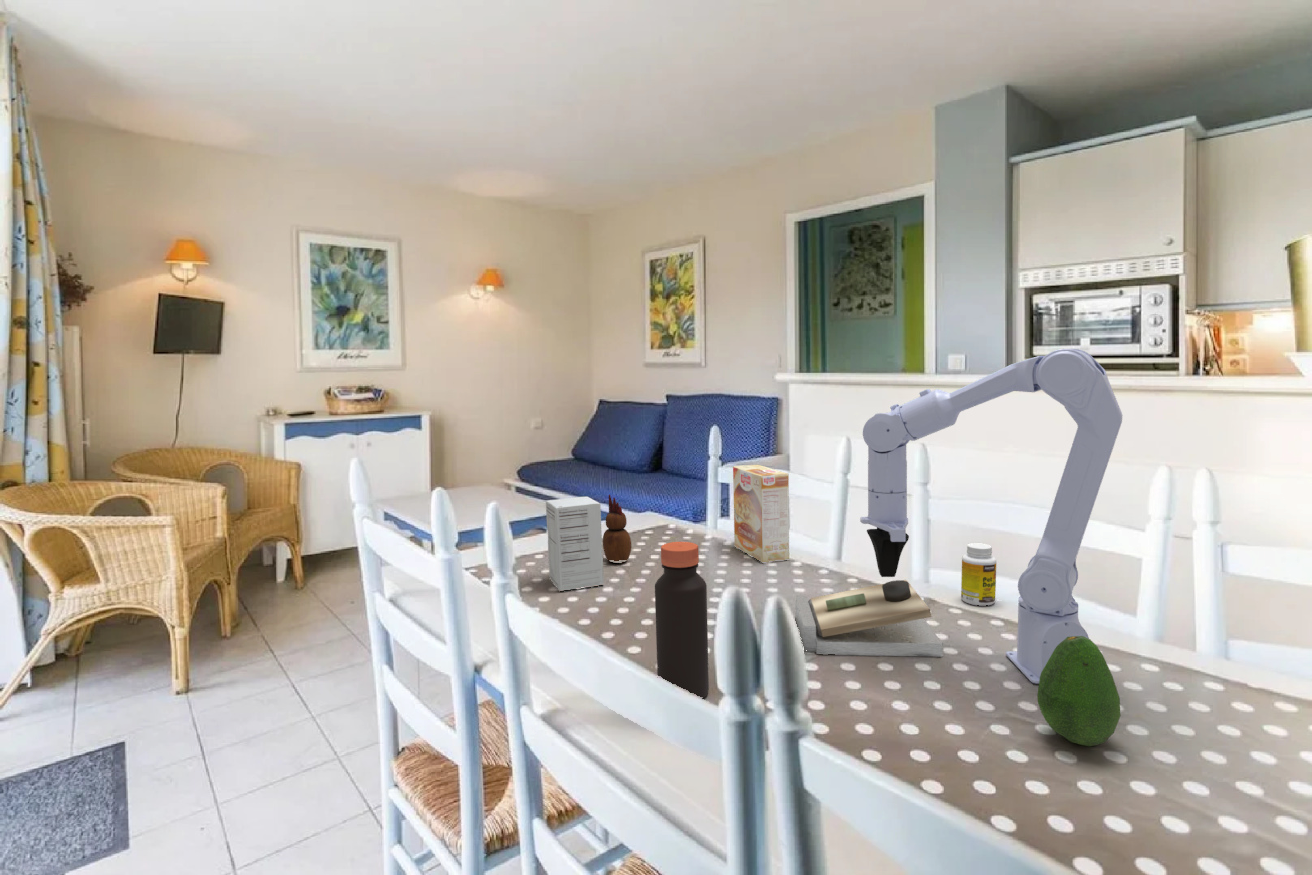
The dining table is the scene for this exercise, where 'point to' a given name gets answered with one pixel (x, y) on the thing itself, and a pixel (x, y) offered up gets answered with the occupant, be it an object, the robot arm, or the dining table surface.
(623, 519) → the wooden figurine
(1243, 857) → the dining table surface
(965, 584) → the supplement bottle
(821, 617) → the plate
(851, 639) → the level base
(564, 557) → the supplement box
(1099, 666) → the avocado
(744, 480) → the coffeecake box
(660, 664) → the vinegar
